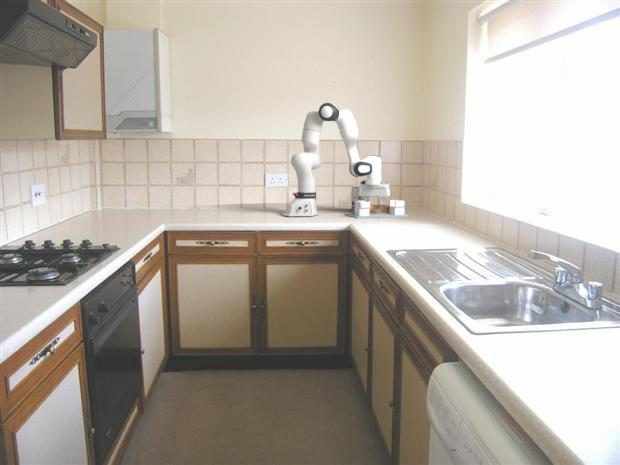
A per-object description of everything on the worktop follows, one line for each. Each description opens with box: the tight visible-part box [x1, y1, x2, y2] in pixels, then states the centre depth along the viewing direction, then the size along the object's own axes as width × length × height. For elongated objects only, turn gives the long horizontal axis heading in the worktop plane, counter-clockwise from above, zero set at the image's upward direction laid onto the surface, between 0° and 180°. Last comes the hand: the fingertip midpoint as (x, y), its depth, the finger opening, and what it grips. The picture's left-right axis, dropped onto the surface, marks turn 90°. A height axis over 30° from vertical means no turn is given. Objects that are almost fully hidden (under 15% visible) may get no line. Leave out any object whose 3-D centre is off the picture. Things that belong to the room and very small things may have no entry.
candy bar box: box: [351, 186, 371, 213], centre depth 350 cm, size 11×5×16 cm, turn 73°
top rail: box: [352, 204, 390, 214], centre depth 333 cm, size 26×4×5 cm, turn 109°
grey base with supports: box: [343, 199, 409, 219], centre depth 329 cm, size 34×20×10 cm, turn 109°
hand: (374, 204), depth 332 cm, fingers open, 8 cm apart
